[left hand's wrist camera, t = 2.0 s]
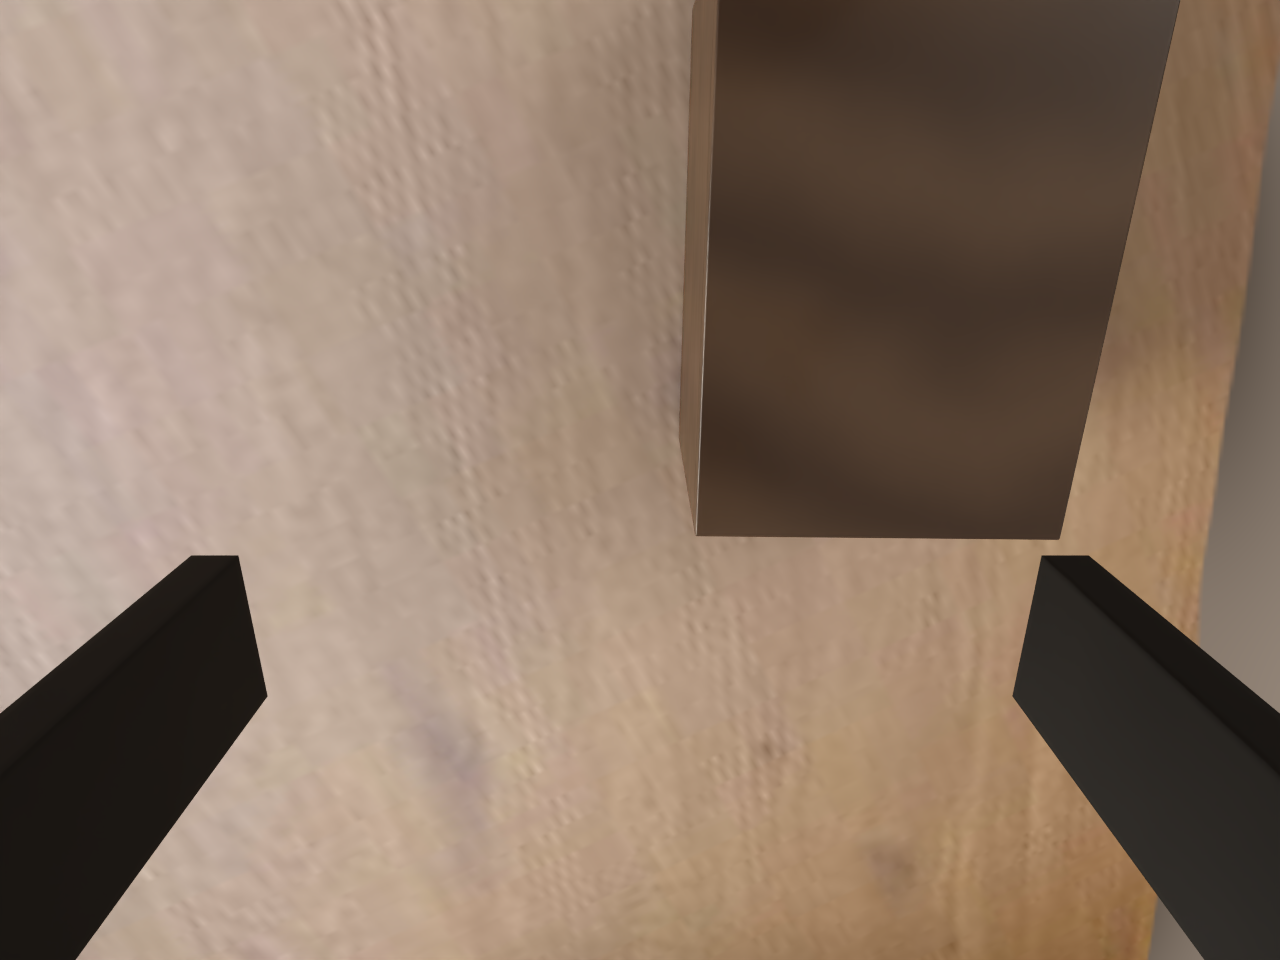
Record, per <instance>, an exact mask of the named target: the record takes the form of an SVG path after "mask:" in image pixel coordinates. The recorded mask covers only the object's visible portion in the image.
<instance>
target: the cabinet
mask: <svg viewBox="0 0 1280 960" xmlns="http://www.w3.org/2000/svg"><path fill="white" fill-rule="evenodd" d="M1179 3H1180V0H695V3H694V7H693V10H692V41H691V73H690V105H689V136H688V168H687V200H686V231H685V263H684V295H683V326H682V358H681V390H680V421H679V441H680V447H681V453H682V459H683V465H684V471H685V477H686V483H687V489H688V495H689V501H690V507H691V513H692V519H693V525H694V531H695V535H696V536H741V537H841V538H940V539H1040V540H1058V539H1059V538H1060V534H1061V530H1062V526H1063V521H1064V517H1065V512H1066V508H1067V503H1068V499H1069V494H1070V490H1071V485H1072V481H1073V476H1074V472H1075V468H1076V463H1077V459H1078V454H1079V450H1080V445H1081V441H1082V436H1083V432H1084V427H1085V423H1086V418H1087V414H1088V410H1089V405H1090V401H1091V396H1092V392H1093V387H1094V383H1095V378H1096V374H1097V369H1098V365H1099V360H1100V356H1101V352H1102V347H1103V343H1104V338H1105V334H1106V329H1107V325H1108V320H1109V316H1110V311H1111V307H1112V302H1113V298H1114V294H1115V289H1116V285H1117V280H1118V276H1119V271H1120V267H1121V262H1122V258H1123V253H1124V249H1125V244H1126V240H1127V235H1128V231H1129V227H1130V222H1131V218H1132V213H1133V209H1134V204H1135V200H1136V195H1137V191H1138V186H1139V182H1140V177H1141V173H1142V169H1143V164H1144V160H1145V155H1146V151H1147V146H1148V142H1149V137H1150V133H1151V128H1152V124H1153V119H1154V115H1155V111H1156V106H1157V102H1158V97H1159V93H1160V88H1161V84H1162V79H1163V75H1164V70H1165V66H1166V61H1167V57H1168V53H1169V48H1170V44H1171V39H1172V35H1173V30H1174V26H1175V21H1176V17H1177V12H1178V8H1179Z"/></svg>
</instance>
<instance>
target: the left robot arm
mask: <svg viewBox="0 0 1280 960" xmlns="http://www.w3.org/2000/svg"><path fill="white" fill-rule="evenodd" d="M266 698H267V691H266V687H265V682H264V677H263V672H262V667H261V663H260V658H259V653H258V648H257V643H256V638H255V634H254V629H253V624H252V619H251V614H250V610H249V605H248V600H247V595H246V590H245V586H244V581H243V576H242V571H241V566H240V562H239V557H238V556H190V557H189V558H188V559H187V560H185V561H184V562H183V563H182V564H181V565H179V566H178V567H177V568H176V569H175V570H173V571H172V572H171V573H170V574H168V575H167V576H166V577H165V578H164V579H162V580H161V581H160V582H159V583H158V584H156V585H155V586H154V587H153V588H152V589H150V590H149V591H148V592H147V593H145V594H144V595H143V596H142V597H141V598H139V599H138V600H137V601H136V602H135V603H133V604H132V605H131V606H130V607H129V608H127V609H126V610H125V611H124V612H123V613H121V614H120V615H119V616H118V617H116V618H115V619H114V620H113V621H112V622H110V623H109V624H108V625H107V626H106V627H104V628H103V629H102V630H101V631H100V632H98V633H97V634H96V635H95V636H93V637H92V638H91V639H90V640H89V641H87V642H86V643H85V644H84V645H83V646H81V647H80V648H79V649H78V650H77V651H75V652H74V653H73V654H72V655H70V656H69V657H68V658H67V659H66V660H64V661H63V662H62V663H61V664H60V665H58V666H57V667H56V668H55V669H54V670H52V671H51V672H50V673H49V674H48V675H46V676H45V677H44V678H43V679H41V680H40V681H39V682H38V683H37V684H35V685H34V686H33V687H32V688H31V689H29V690H28V691H27V692H26V693H25V694H23V695H22V696H21V697H20V698H18V699H17V700H16V701H15V702H14V703H12V704H11V705H10V706H9V707H8V708H6V709H5V710H4V711H3V712H2V713H0V960H76V958H77V957H78V956H79V954H80V953H81V952H82V950H83V949H84V947H85V946H86V945H87V943H88V942H89V941H90V939H91V938H92V936H93V935H94V934H95V932H96V931H97V930H98V928H99V927H100V926H101V924H102V923H103V921H104V920H105V919H106V917H107V916H108V915H109V913H110V912H111V910H112V909H113V908H114V906H115V905H116V904H117V902H118V901H119V899H120V898H121V897H122V895H123V894H124V893H125V891H126V890H127V888H128V887H129V886H130V884H131V883H132V882H133V880H134V879H135V877H136V876H137V875H138V873H139V872H140V871H141V869H142V868H143V866H144V865H145V864H146V862H147V861H148V860H149V858H150V857H151V855H152V854H153V853H154V851H155V850H156V849H157V847H158V846H159V844H160V843H161V842H162V840H163V839H164V838H165V836H166V835H167V834H168V832H169V831H170V829H171V828H172V827H173V825H174V824H175V823H176V821H177V820H178V818H179V817H180V816H181V814H182V813H183V812H184V810H185V809H186V807H187V806H188V805H189V803H190V802H191V801H192V799H193V798H194V796H195V795H196V794H197V792H198V791H199V790H200V788H201V787H202V785H203V784H204V783H205V781H206V780H207V779H208V777H209V776H210V774H211V773H212V772H213V770H214V769H215V768H216V766H217V765H218V763H219V762H220V761H221V759H222V758H223V757H224V755H225V754H226V752H227V751H228V750H229V748H230V747H231V746H232V744H233V743H234V741H235V740H236V739H237V737H238V736H239V735H240V733H241V732H242V731H243V729H244V728H245V726H246V725H247V724H248V722H249V721H250V720H251V718H252V717H253V715H254V714H255V713H256V711H257V710H258V709H259V707H260V706H261V704H262V703H263V702H264V700H265V699H266ZM1013 698H1014V699H1015V700H1016V702H1017V703H1018V704H1019V706H1020V707H1021V709H1022V710H1023V711H1024V713H1025V714H1026V715H1027V717H1028V718H1029V720H1030V721H1031V722H1032V724H1033V725H1034V726H1035V728H1036V729H1037V731H1038V732H1039V733H1040V735H1041V736H1042V737H1043V739H1044V740H1045V741H1046V743H1047V744H1048V746H1049V747H1050V748H1051V750H1052V751H1053V752H1054V754H1055V755H1056V757H1057V758H1058V759H1059V761H1060V762H1061V763H1062V765H1063V766H1064V768H1065V769H1066V770H1067V772H1068V773H1069V774H1070V776H1071V777H1072V779H1073V780H1074V781H1075V783H1076V784H1077V785H1078V787H1079V788H1080V790H1081V791H1082V792H1083V794H1084V795H1085V796H1086V798H1087V799H1088V801H1089V802H1090V803H1091V805H1092V806H1093V807H1094V809H1095V810H1096V812H1097V813H1098V814H1099V816H1100V817H1101V818H1102V820H1103V821H1104V823H1105V824H1106V825H1107V827H1108V828H1109V829H1110V831H1111V832H1112V834H1113V835H1114V836H1115V838H1116V839H1117V840H1118V842H1119V843H1120V844H1121V846H1122V847H1123V849H1124V850H1125V851H1126V853H1127V854H1128V855H1129V857H1130V858H1131V860H1132V861H1133V862H1134V864H1135V865H1136V866H1137V868H1138V869H1139V871H1140V872H1141V873H1142V875H1143V876H1144V877H1145V879H1146V880H1147V882H1148V883H1149V884H1150V886H1151V887H1152V888H1153V890H1154V891H1155V893H1156V894H1157V895H1158V897H1159V898H1160V899H1161V901H1162V902H1163V904H1164V905H1165V906H1166V908H1167V909H1168V910H1169V912H1170V913H1171V914H1172V916H1173V917H1174V919H1175V920H1176V921H1177V923H1178V924H1179V926H1180V927H1181V928H1182V930H1183V931H1184V932H1185V934H1186V935H1187V936H1188V938H1189V939H1190V941H1191V942H1192V943H1193V945H1194V946H1195V947H1196V949H1197V950H1198V952H1199V953H1200V954H1201V956H1202V957H1203V958H1204V960H1280V713H1278V712H1277V711H1276V710H1275V709H1274V708H1272V707H1271V706H1270V705H1269V704H1268V703H1266V702H1265V701H1264V700H1263V699H1261V698H1260V697H1259V696H1258V695H1257V694H1255V693H1254V692H1253V691H1252V690H1251V689H1249V688H1248V687H1247V686H1246V685H1245V684H1243V683H1242V682H1241V681H1240V680H1239V679H1237V678H1236V677H1235V676H1234V675H1232V674H1231V673H1230V672H1229V671H1228V670H1226V669H1225V668H1224V667H1223V666H1222V665H1220V664H1219V663H1218V662H1217V661H1216V660H1214V659H1213V658H1212V657H1211V656H1209V655H1208V654H1207V653H1206V652H1205V651H1203V650H1202V649H1201V648H1200V647H1199V646H1197V645H1196V644H1195V643H1194V642H1193V641H1191V640H1190V639H1189V638H1188V637H1187V636H1185V635H1184V634H1183V633H1182V632H1180V631H1179V630H1178V629H1177V628H1176V627H1174V626H1173V625H1172V624H1171V623H1170V622H1168V621H1167V620H1166V619H1165V618H1164V617H1162V616H1161V615H1160V614H1159V613H1157V612H1156V611H1155V610H1154V609H1153V608H1151V607H1150V606H1149V605H1148V604H1147V603H1145V602H1144V601H1143V600H1142V599H1141V598H1139V597H1138V596H1137V595H1136V594H1135V593H1133V592H1132V591H1131V590H1130V589H1128V588H1127V587H1126V586H1125V585H1124V584H1122V583H1121V582H1120V581H1119V580H1118V579H1116V578H1115V577H1114V576H1113V575H1112V574H1110V573H1109V572H1108V571H1107V570H1105V569H1104V568H1103V567H1102V566H1101V565H1099V564H1098V563H1097V562H1096V561H1095V560H1093V559H1092V558H1091V557H1090V556H1042V557H1041V562H1040V566H1039V571H1038V576H1037V581H1036V586H1035V590H1034V595H1033V600H1032V605H1031V610H1030V614H1029V619H1028V624H1027V629H1026V634H1025V638H1024V643H1023V648H1022V653H1021V658H1020V663H1019V667H1018V672H1017V677H1016V682H1015V687H1014V691H1013Z"/></svg>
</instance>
